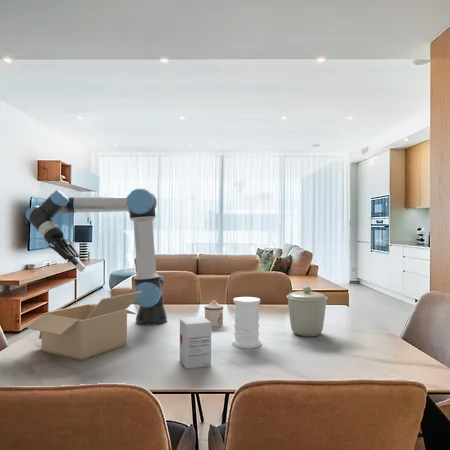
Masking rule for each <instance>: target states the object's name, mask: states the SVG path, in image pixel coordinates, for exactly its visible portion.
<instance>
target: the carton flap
mask: <svg viewBox="0 0 450 450" xmlns="http://www.w3.org/2000/svg"><path fill="white" fill-rule="evenodd" d="M141 292H142V291H138V292H134V291H133V292H128V293H125V294H119V295H114V296H110V297H104V298H101V299H100V300H99V302H98V303H97V305H96V307H95V308H94V309H93V310H92V311H91V313H90V314H89V315H88V316H87V318H91V317H95V316H99V315H103V314H107V313H111V312H115V311H119V310H123V309H127V310H128V308H129V307H131V305H132V304H133V303H134V302H135V299H136V298H137V297H138V296H139V295H140V294H141Z"/></svg>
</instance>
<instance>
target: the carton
mask: <svg viewBox="0 0 450 450" xmlns="http://www.w3.org/2000/svg"><path fill="white" fill-rule="evenodd" d="M97 304H98V303H97ZM97 304H96V303H84V304H81V305H80V304H79V305H76V306H70V307H65V308H61V309H56V310H52V311H48V312H47V311H46V312H44V313H41V316H40V317H38V318H37V319H36V320H34V321H33V322H31V323H30V324H29V325H28V326H26V328H27V329H30V330H34V331H38V332H39V335H38V340H41V346H40V347H41V350H40V351H41V352H44V353H48V354H51V355H57V356H60V357H64V358H67V359H71V360H76V361H79V362H83V361H86V360H88V359H91V358H95V357H97V356H99V355H103V354H106V353H108V352H111V351H113V350H116V349H118V348H122V347H124V346H127V344H128V341H127V340H128V314H130V315H136V316H137V313H136V312H134V311H131V310H129V309H128V308H127V309H123V310H119V311H115V312H111V313H107V314H103V315H99V316H95V317H91V318H87V316H88V315H89V314H90V313H91V311H92V310H93V309H94V308H95V307H96V305H97Z"/></svg>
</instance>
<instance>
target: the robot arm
mask: <svg viewBox="0 0 450 450" xmlns="http://www.w3.org/2000/svg"><path fill="white" fill-rule="evenodd" d="M157 202H158V201H157V199H156V196H155V195H154V194H153V193H152V192H151V191H150V190H149V189H147V188H139V187H138V188H135V189H133V190H132V191H130V192H129V193H128V194H127V195H123V196H122V195H120V196H118V195H117V196H116V195H115V196H112V195H111V196H83V197H82V196H77V197H76V196H74V197H69V196H67V195H66V194H65V193H64V192H62V191H61V190H59V189H56V190H54V191H53V192H52V193H51V194H50V195H49V197H47V199H45V201H44V202H43V203H42V204H40V206H39V205H33V206H32V207H29V208H28V209H27V210H26V212H25V217H26V218H27V220H28V222H29V223H30V224H31V226H33V227H34V229H36V232H38V233H39V234H40V235H41V237H42V238H44V240H45V241H46V242H47V244H48V247H49V248H51V249H52V250H53V251H54V252H56V253H57V254H58V255H59V256H60V257H61V258H62V259H63V260H65V261H67V262H68V263H70V262H71V263H72V264H73V265H74V266H75V268H76V269H77V270H78V272H83V271H84V270H85V269H86V265H85V264H84V263H83V262H82V261H81V259H79V257H80V253H79V251H78V250H77V248H76V247H75V245H74V242H73V241H70V242H68V241H67V239H66V238H64V232H63V231H62V230H61V229H60V228H59V227H58V226H57V224H56V223H55V222H54V221H53V218H54V217H56V216H57V215H58V214H59V213H62V214H73V213H76V214H77V213H105V212H106V213H110V212H111V213H112V212H114V213H115V212H128V214H129V219H130V221H132V222H133V234H134V245H135V248H134V249H135V260H136V275H135V277H134V278H133V283H134V289H133V290H134V291H133V292H138V291H142V292H141V294H140V295H139V296H138V297H137V298H136V299H135V300H134V302H135V303H136V305H138V306H139V308H138V311H137V313H136V316H135V323H136V324H137V325H142V326H156V325H157V326H158V325H162V324H165V323H167V322H168V315H167V312H166V310H165V307H164V290H165V289H164V284H165V283H164V282H165V279H164V275H160V274H158V273H157V264H156V252H155V251H156V250H155V238H154V237H155V235H154V223H153V221H154V220H155V219H156V218H157V215H156V207H157V205H158V204H157Z"/></svg>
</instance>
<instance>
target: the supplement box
mask: <svg viewBox="0 0 450 450" xmlns="http://www.w3.org/2000/svg"><path fill="white" fill-rule="evenodd" d="M179 362H180V363H181V364H182V366H183V367H184V368H185V369H186V370H189V369H195V368H197V367H198V368H203V367H204V366H205V367H211V366H212V327H211V322H210V321H208V320H207V319H205V316H196V317H182V318H180V319H179ZM205 367H204V368H205Z"/></svg>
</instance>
